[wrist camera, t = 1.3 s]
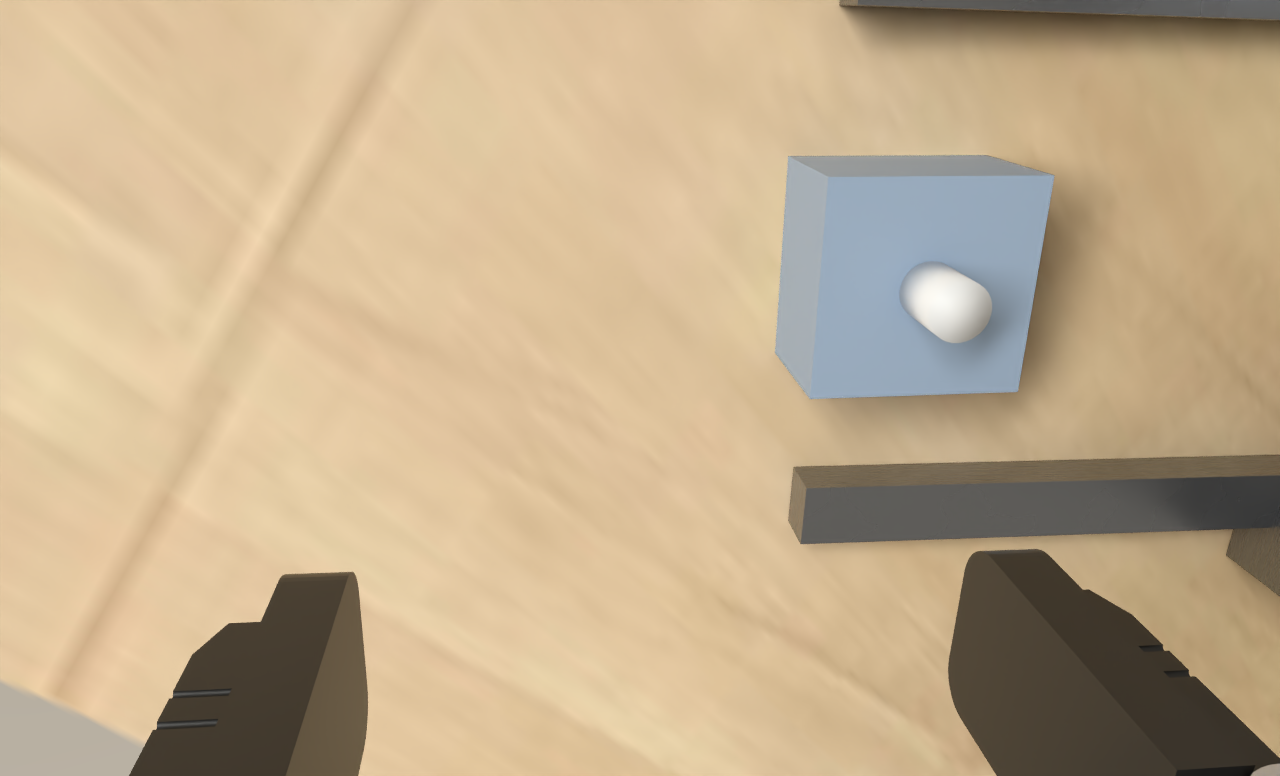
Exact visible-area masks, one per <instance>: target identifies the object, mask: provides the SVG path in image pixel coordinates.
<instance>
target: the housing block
mask: <svg viewBox="0 0 1280 776" xmlns="http://www.w3.org/2000/svg"><path fill="white" fill-rule="evenodd" d="M1053 181H1054V175H1051V174H1048V173H1045V172H1041V171H1038V170H1035V169H1031V168H1028V167H1024V166H1021V165H1018V164H1014V163H1011V162H1008V161H1004V160H1001V159H998V158H994V157H991V156H987V155H941V156H788V169H787V184H786V199H785V214H784V228H783V243H782V258H781V273H780V288H779V302H778V317H777V332H776V347H775V353H776V355H777V356H778V357H779V359H780V360H781V361H782V363H783V364H784V365H785V367H786V368H787V369H788V371H789V372H790V373H791V375H792V376H793V377H794V379H795V380H796V381H797V383H798V384H799V385H800V387H801V388H802V389H803V391H804V392H805V393H806V395H807V396H808V397H809V398H810V399H824V398H854V397H883V396H912V395H942V394H971V393H1000V392H1018V388H1019V382H1020V376H1021V370H1022V364H1023V358H1024V352H1025V346H1026V340H1027V334H1028V329H1029V323H1030V317H1031V311H1032V305H1033V299H1034V293H1035V287H1036V281H1037V275H1038V269H1039V264H1040V258H1041V252H1042V246H1043V240H1044V234H1045V228H1046V222H1047V216H1048V210H1049V204H1050V199H1051V193H1052V187H1053Z"/></svg>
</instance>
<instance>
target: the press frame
mask: <svg viewBox="0 0 1280 776" xmlns="http://www.w3.org/2000/svg"><path fill="white" fill-rule="evenodd" d="M839 5H841V6H870V7H899V8H927V9H956V10H985V11H1013V12H1042V13H1071V14H1099V15H1128V16H1157V17H1185V18H1214V19H1243V20H1271V21H1280V0H840V4H839ZM788 521H789V523H790V525H791V527H792V529H793V531H794V533H795V534H796V536H797V538H798V540H799V542H800V544H816V543H845V542H874V541H903V540H931V539H960V538H989V537H1018V536H1047V535H1075V534H1104V533H1133V532H1162V531H1191V530H1219V529H1234V530H1233V534H1232V537H1231V541H1230V544H1229V547H1228V551H1227V554H1226V556H1228V557H1229V558H1230V559H1232V560H1233V561H1234V562H1236V563H1237V564H1238V565H1239V566H1241V567H1242V568H1243V569H1245V570H1246V571H1247V572H1249V573H1250V574H1251V575H1253V576H1254V577H1255V578H1256V579H1258V580H1259V581H1260V582H1262V583H1263V584H1264V585H1266V586H1267V587H1268V588H1270V589H1271V590H1272V591H1273V592H1275V593H1276V594H1277V595H1279V596H1280V455H1260V456H1220V457H1180V458H1139V459H1099V460H1059V461H1018V462H978V463H937V464H897V465H857V466H816V467H794V469H793V479H792V489H791V499H790V509H789V519H788Z"/></svg>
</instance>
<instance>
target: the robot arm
mask: <svg viewBox="0 0 1280 776" xmlns="http://www.w3.org/2000/svg"><path fill="white" fill-rule="evenodd" d="M948 673H949V685H950V690H951V695H952V699H953V702H954V705H955V708H956V710H957V712H958V714H959V716H960V718H961V719H962V721H963V723H964V724H965V726H966V727H967V729H968V731H969V732H970V734H971V735H972V737H973V739H974V740H975V742H976V743H977V745H978V746H979V748H980V750H981V751H982V753H983V754H984V756H985V758H986V759H987V761H988V762H989V764H990V766H991V767H992V769H993V770H994V772H995V773H996V775H997V776H1280V758H1279V757H1278V756H1277V755H1276V754H1275V753H1274V752H1273V751H1272V750H1271V749H1269V748H1268V747H1267V746H1266V745H1265V744H1264V743H1263V742H1262V741H1261V740H1260V739H1259V738H1258V737H1257V736H1256V735H1255V734H1254V733H1253V732H1252V731H1251V730H1250V729H1249V728H1248V727H1247V726H1246V725H1245V724H1244V723H1243V722H1242V721H1241V720H1240V719H1239V718H1238V717H1237V716H1236V715H1235V714H1233V713H1232V712H1231V711H1230V710H1229V709H1228V708H1227V707H1226V706H1225V705H1224V704H1223V703H1222V702H1221V701H1220V700H1219V699H1218V698H1217V697H1216V696H1215V695H1214V694H1213V693H1212V692H1211V691H1210V690H1209V689H1208V688H1207V687H1206V686H1205V685H1204V684H1203V683H1202V682H1201V681H1200V680H1199V679H1198V678H1196V677H1190V676H1189V670H1188V669H1187V668H1186V667H1185V666H1184V665H1183V664H1182V663H1181V662H1180V661H1179V660H1178V659H1177V658H1176V657H1175V656H1174V655H1173V654H1172V653H1171V652H1170V651H1164V650H1163V644H1162V643H1160V642H1159V641H1158V640H1157V639H1156V638H1155V637H1154V636H1153V635H1152V634H1151V633H1150V632H1149V631H1148V630H1147V629H1146V628H1145V627H1144V626H1143V625H1142V624H1141V623H1140V622H1139V621H1138V620H1137V619H1136V618H1135V617H1134V616H1133V615H1132V614H1130V613H1128V612H1126V611H1125V610H1123V609H1121V608H1120V607H1118V606H1116V605H1114V604H1113V603H1111V602H1109V601H1108V600H1106V599H1104V598H1102V597H1101V596H1099V595H1097V594H1095V593H1094V592H1092V591H1090V590H1082V589H1081V588H1080V587H1079V586H1078V585H1077V583H1076V582H1075V581H1074V580H1073V579H1072V578H1071V577H1070V576H1069V575H1068V574H1067V573H1066V572H1065V571H1064V570H1063V569H1062V568H1061V567H1060V566H1059V565H1058V564H1057V563H1056V562H1055V561H1054V560H1053V559H1052V558H1051V557H1050V556H1049V555H1048V554H1046V553H1045V552H1044V551H1042V550H1038V549H1028V550H1000V551H978V552H975V553H973V554H972V556H971V557H970V558H969V560H968V562H967V565H966V568H965V572H964V578H963V584H962V589H961V595H960V600H959V606H958V612H957V617H956V623H955V629H954V634H953V640H952V645H951V651H950V657H949V667H948ZM367 716H368V691H367V678H366V667H365V656H364V645H363V633H362V622H361V611H360V600H359V590H358V583H357V579H356V576H355V574H354V572H339V573H311V574H285V575H283V576H282V577H281V578H280V580H279V582H278V584H277V586H276V588H275V591H274V593H273V595H272V598H271V600H270V602H269V605H268V607H267V609H266V611H265V614H264V616H263V618H262V621H261V622H250V623H229V624H228V625H226V626H225V627H224V628H223V629H222V630H221V631H219V632H218V633H217V634H216V635H215V636H214V637H212V638H211V639H210V640H209V641H208V642H207V643H205V644H204V645H203V646H202V647H201V648H200V649H198V650H197V651H196V652H195V653H194V654H193V655H192V656H191V658H190V660H189V662H188V664H187V666H186V668H185V670H184V672H183V673H182V675H181V677H180V679H179V681H178V683H177V685H176V687H175V689H174V691H173V698H172V699H169V700H168V702H167V704H166V706H165V708H164V710H163V712H162V714H161V716H160V717H159V719H158V721H157V729H156V730H153V731H152V733H151V735H150V737H149V739H148V740H147V742H146V744H145V746H144V748H143V750H142V752H141V754H140V756H139V758H138V760H137V762H136V763H135V765H134V767H133V769H132V771H131V773H130V775H129V776H358V774H359V769H360V764H361V760H362V755H363V751H364V745H365V739H366V730H367Z"/></svg>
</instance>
